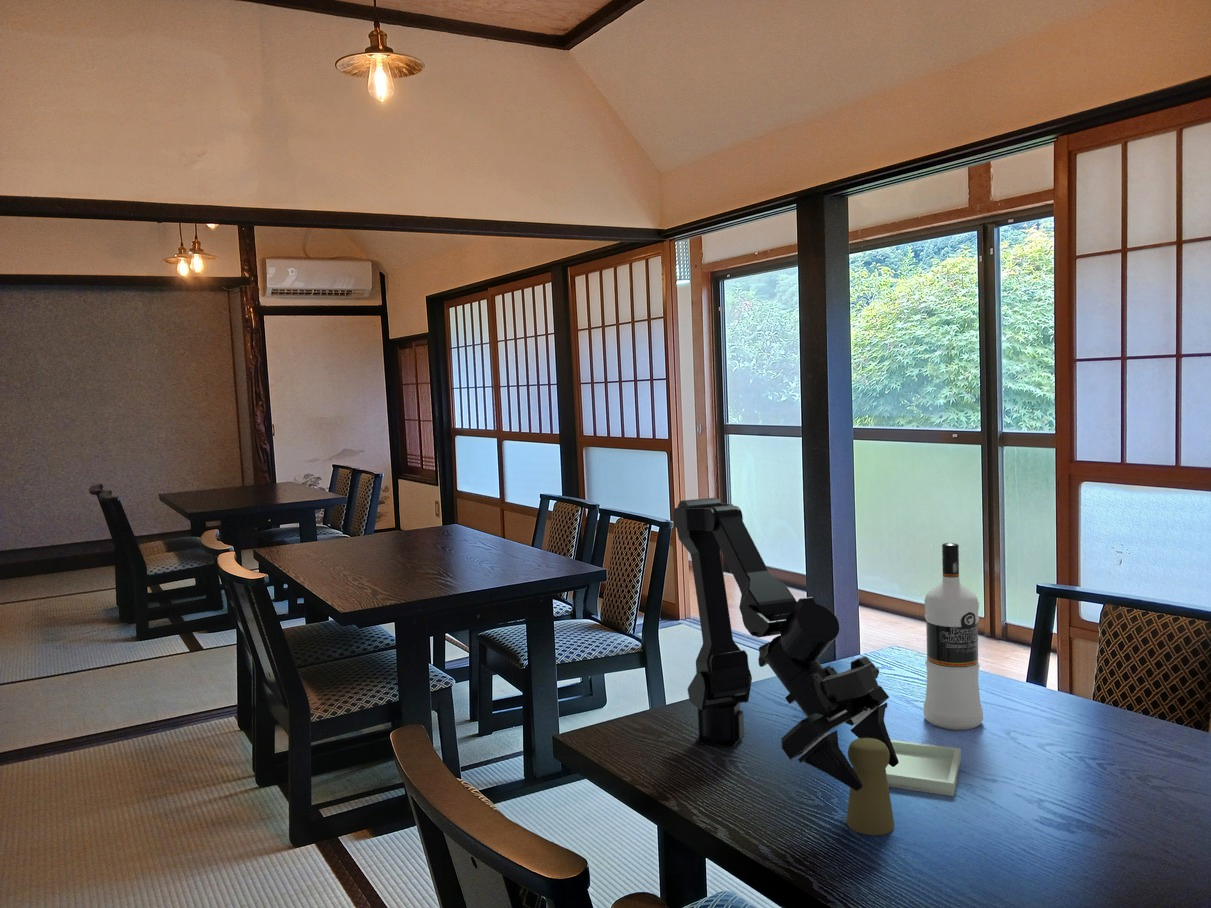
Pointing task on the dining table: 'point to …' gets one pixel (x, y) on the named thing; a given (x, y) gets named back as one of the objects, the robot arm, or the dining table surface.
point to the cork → (870, 788)
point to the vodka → (952, 650)
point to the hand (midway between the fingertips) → (878, 776)
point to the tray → (924, 768)
